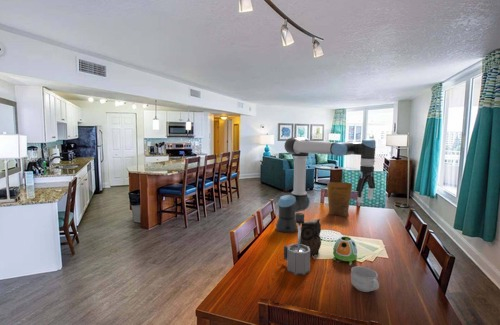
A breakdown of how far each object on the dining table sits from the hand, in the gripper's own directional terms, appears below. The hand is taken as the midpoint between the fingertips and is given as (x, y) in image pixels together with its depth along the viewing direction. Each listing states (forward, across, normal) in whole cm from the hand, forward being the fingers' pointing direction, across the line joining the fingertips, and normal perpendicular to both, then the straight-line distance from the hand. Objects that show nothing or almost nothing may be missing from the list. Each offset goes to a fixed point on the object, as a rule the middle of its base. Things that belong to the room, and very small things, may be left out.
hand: (365, 200), depth 164 cm
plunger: (+19, -53, +8) cm, 57 cm away
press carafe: (+28, -53, +10) cm, 61 cm away
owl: (+28, -33, +16) cm, 47 cm away
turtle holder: (+28, -24, -1) cm, 37 cm away
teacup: (+28, -46, -23) cm, 58 cm away
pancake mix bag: (+28, +45, +41) cm, 67 cm away
